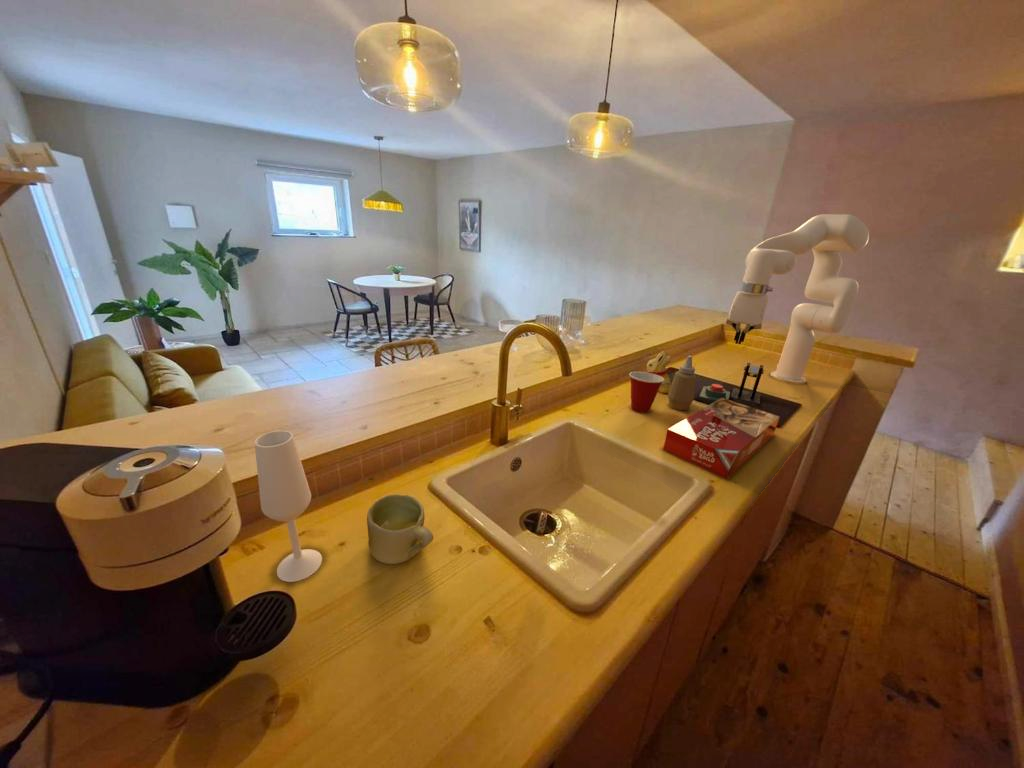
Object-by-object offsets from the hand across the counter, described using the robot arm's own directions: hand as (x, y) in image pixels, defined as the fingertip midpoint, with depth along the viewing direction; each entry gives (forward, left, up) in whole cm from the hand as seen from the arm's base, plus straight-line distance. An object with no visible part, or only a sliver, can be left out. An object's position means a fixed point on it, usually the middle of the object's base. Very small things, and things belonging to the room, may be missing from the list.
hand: (738, 343), depth 134 cm
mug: (+96, -78, -21) cm, 125 cm away
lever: (-5, +9, -12) cm, 16 cm away
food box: (+36, -10, -21) cm, 43 cm away
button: (+4, -4, -17) cm, 18 cm away
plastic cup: (+21, -31, -21) cm, 43 cm away
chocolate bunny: (+1, -24, -21) cm, 32 cm away
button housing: (+4, -4, -20) cm, 21 cm away
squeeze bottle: (+15, -18, -21) cm, 31 cm away
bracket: (-1, +8, -20) cm, 22 cm away
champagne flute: (+103, -93, -21) cm, 140 cm away
